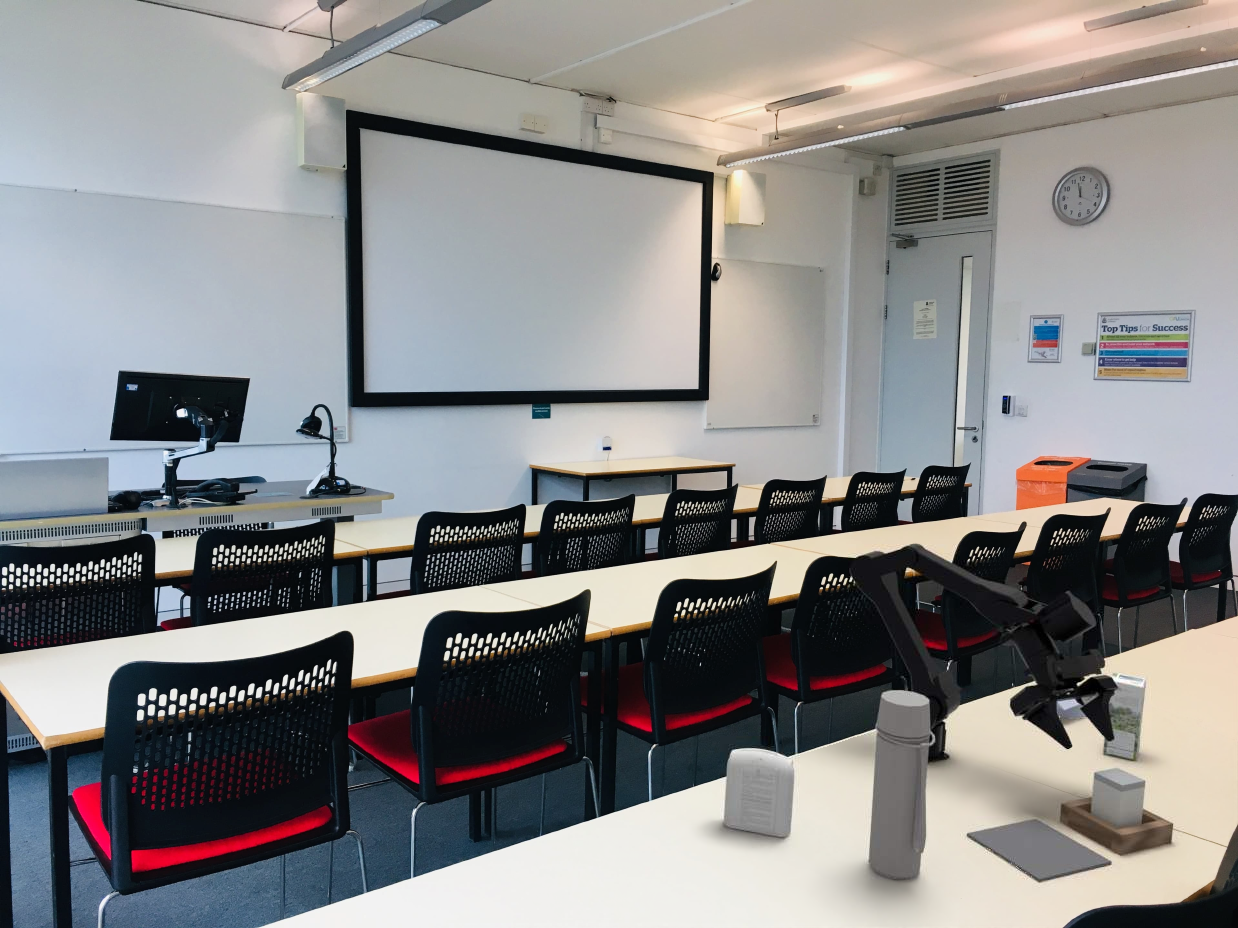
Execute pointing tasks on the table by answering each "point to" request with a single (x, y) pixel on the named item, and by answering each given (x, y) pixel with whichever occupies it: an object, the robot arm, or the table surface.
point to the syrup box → (1126, 717)
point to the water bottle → (900, 784)
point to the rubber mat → (1039, 849)
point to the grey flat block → (759, 792)
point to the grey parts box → (1118, 798)
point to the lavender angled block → (1069, 709)
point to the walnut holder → (1112, 837)
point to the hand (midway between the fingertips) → (1091, 744)
